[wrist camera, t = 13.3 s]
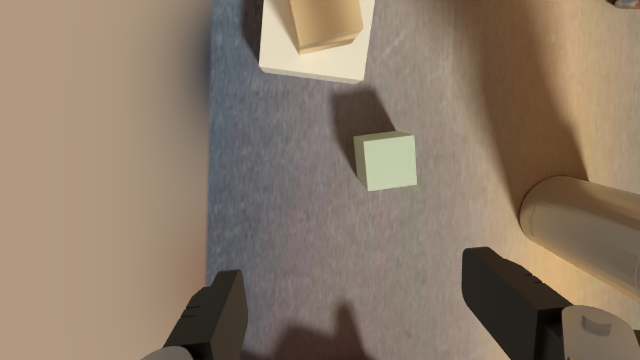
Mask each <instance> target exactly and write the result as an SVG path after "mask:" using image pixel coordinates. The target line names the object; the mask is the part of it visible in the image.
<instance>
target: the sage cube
mask: <svg viewBox="0 0 640 360" xmlns="http://www.w3.org/2000/svg"><path fill="white" fill-rule="evenodd" d="M353 139H354V149H355V159H356V169H357V178H358V180H359V181H360V182H361V183H362V185H363V186H364V187H365V188H366V189H367V191H373V190H380V189H388V188H395V187H402V186H410V185H417V179H416V161H415V143H414V135H412V134H407V133H403V132H399V131H390V132H383V133H375V134H367V135H360V136H353Z"/></svg>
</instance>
